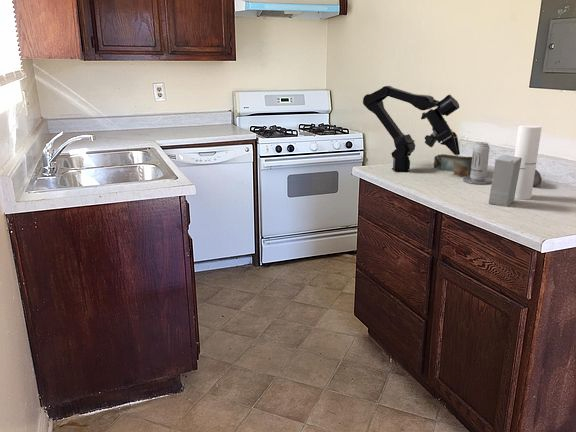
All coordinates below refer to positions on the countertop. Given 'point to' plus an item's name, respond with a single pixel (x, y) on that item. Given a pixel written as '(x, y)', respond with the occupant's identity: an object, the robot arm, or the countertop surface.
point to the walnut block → (461, 170)
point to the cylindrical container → (527, 159)
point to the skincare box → (504, 180)
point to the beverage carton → (451, 162)
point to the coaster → (485, 182)
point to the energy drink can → (479, 161)
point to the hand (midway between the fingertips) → (457, 154)
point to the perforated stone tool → (537, 179)
